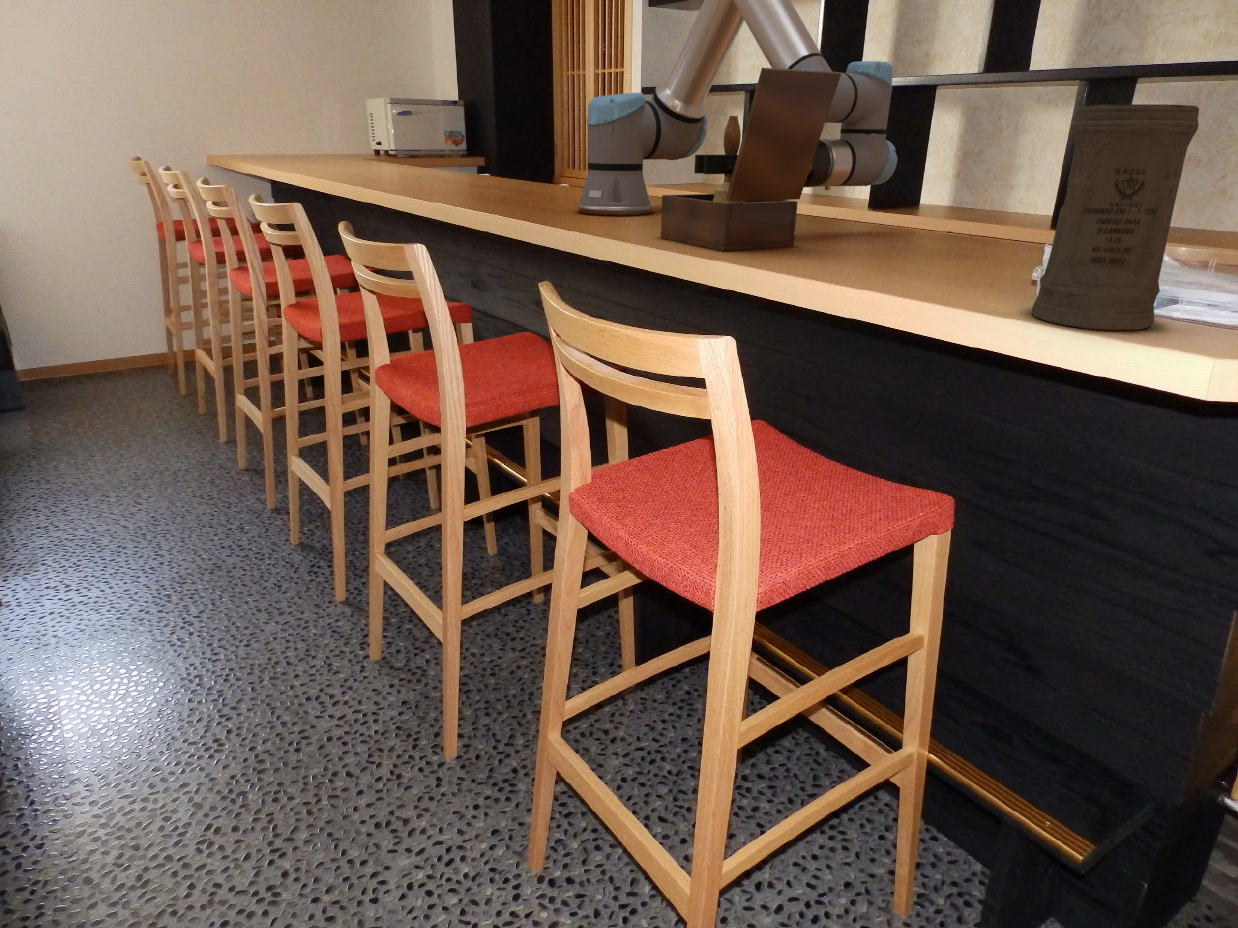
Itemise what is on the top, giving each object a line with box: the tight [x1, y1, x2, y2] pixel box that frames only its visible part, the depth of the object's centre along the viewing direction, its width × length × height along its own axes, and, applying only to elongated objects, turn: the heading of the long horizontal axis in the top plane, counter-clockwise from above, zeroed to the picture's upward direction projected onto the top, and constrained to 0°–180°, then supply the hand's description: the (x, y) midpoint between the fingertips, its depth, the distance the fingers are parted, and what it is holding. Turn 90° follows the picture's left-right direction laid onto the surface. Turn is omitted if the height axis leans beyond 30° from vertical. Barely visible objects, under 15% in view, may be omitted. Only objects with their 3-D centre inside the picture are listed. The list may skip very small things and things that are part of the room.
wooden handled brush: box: [713, 115, 744, 204], centre depth 132 cm, size 8×8×16 cm
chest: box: [660, 193, 798, 252], centre depth 134 cm, size 18×14×7 cm
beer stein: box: [1030, 103, 1200, 331], centre depth 82 cm, size 15×11×20 cm
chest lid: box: [726, 67, 842, 202], centre depth 120 cm, size 18×14×1 cm
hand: (701, 164), depth 129 cm, fingers closed on wooden handled brush, 2 cm apart
